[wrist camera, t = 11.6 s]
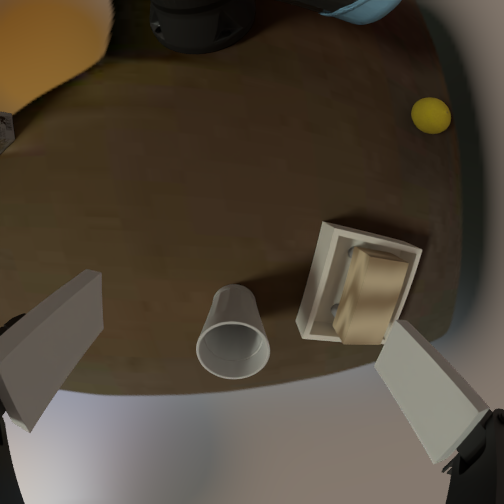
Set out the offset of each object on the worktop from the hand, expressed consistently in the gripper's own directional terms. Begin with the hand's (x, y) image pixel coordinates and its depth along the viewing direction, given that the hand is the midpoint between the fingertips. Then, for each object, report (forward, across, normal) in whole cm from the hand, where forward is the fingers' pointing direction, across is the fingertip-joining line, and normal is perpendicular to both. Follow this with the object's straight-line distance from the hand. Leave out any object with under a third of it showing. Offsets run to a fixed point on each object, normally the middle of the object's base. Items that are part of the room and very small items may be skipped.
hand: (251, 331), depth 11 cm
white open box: (+27, +18, -6) cm, 33 cm away
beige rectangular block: (+23, +18, -6) cm, 30 cm away
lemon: (+27, +23, +22) cm, 42 cm away
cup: (+27, +1, -12) cm, 29 cm away
